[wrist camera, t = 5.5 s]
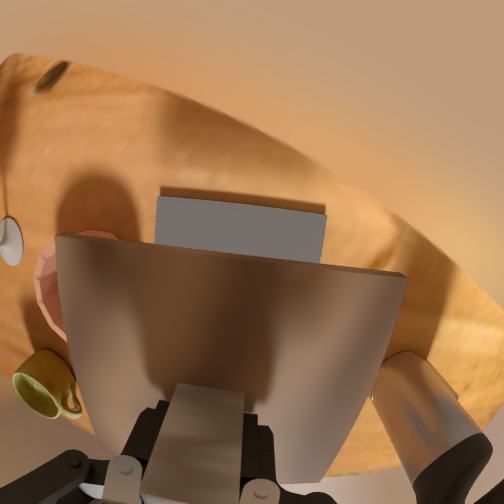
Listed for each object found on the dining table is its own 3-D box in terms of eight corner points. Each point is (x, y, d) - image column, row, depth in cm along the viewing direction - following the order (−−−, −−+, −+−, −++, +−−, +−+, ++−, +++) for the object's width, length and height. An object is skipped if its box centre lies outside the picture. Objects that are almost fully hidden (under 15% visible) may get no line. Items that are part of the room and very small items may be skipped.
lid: (400, 272, 11) (510, 348, 4) (318, 474, 14) (331, 550, 7) (65, 232, 10) (-52, 272, 4) (106, 444, 14) (73, 511, 7)
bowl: (145, 236, 28) (120, 247, 22) (146, 335, 30) (128, 362, 25) (61, 226, 28) (30, 235, 22) (68, 316, 30) (44, 335, 24)
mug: (25, 374, 31) (4, 401, 22) (38, 331, 33) (13, 354, 23) (81, 409, 35) (71, 443, 26) (98, 370, 36) (87, 403, 27)
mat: (325, 214, 27) (327, 215, 26) (297, 357, 31) (298, 361, 30) (160, 195, 27) (157, 196, 26) (157, 340, 31) (155, 343, 30)
